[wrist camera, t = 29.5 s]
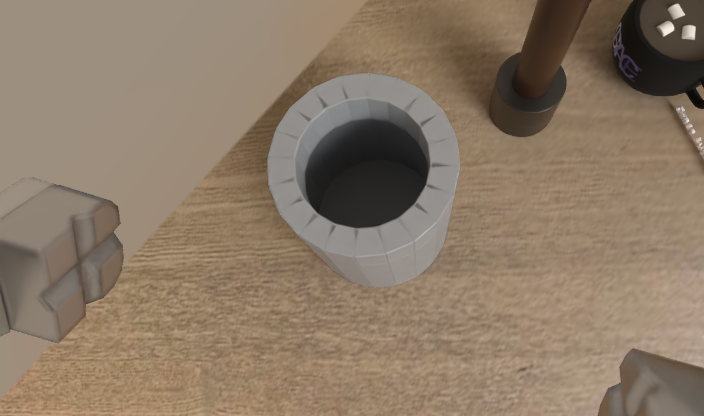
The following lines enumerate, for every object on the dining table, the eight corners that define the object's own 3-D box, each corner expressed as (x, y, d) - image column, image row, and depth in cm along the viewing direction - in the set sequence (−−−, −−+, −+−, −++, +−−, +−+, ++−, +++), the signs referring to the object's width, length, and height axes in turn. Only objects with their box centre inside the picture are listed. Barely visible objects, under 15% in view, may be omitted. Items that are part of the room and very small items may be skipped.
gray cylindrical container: (287, 243, 39) (231, 195, 28) (357, 133, 40) (331, 42, 29) (403, 314, 37) (395, 294, 26) (472, 195, 39) (494, 126, 27)
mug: (583, 39, 40) (618, -31, 33) (673, 4, 40) (728, -74, 33) (671, 203, 37) (731, 165, 30) (768, 165, 37) (852, 119, 30)
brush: (477, 119, 40) (514, -32, 24) (507, 69, 40) (561, -109, 25) (534, 148, 39) (608, 9, 23) (563, 96, 39) (655, -71, 24)
